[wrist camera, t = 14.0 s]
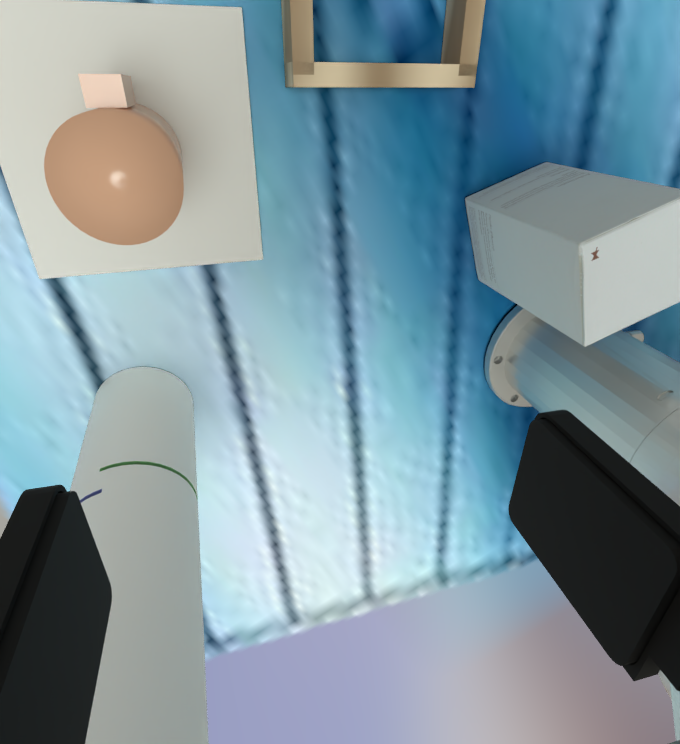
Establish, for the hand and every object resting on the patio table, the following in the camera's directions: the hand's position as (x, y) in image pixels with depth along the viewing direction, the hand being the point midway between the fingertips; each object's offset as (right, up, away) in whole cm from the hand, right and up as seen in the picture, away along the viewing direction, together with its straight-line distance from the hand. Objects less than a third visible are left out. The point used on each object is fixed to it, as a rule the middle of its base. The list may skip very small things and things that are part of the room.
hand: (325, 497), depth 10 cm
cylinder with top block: (-12, +15, +18) cm, 26 cm away
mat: (-12, +16, +18) cm, 27 cm away
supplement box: (+14, +15, +28) cm, 34 cm away
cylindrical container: (-15, 0, +27) cm, 31 cm away
